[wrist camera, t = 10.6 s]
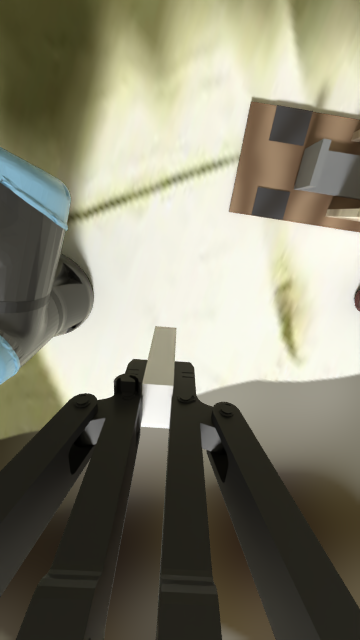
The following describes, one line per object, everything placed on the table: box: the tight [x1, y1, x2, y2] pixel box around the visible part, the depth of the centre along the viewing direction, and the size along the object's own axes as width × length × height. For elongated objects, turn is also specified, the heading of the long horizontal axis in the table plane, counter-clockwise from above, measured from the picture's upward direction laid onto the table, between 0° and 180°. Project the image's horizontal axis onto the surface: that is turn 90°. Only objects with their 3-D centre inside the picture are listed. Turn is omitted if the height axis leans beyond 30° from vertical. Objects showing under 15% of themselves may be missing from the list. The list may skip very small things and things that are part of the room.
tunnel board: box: [229, 102, 360, 232], centre depth 34 cm, size 30×14×10 cm, turn 82°
